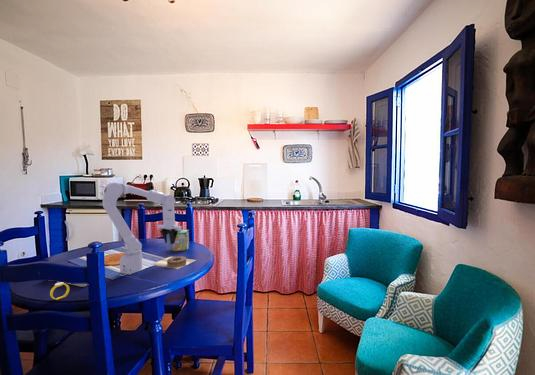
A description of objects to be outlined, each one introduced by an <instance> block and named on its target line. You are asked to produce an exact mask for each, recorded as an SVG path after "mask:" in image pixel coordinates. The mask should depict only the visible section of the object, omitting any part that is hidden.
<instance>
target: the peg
mask: <svg viewBox="0 0 535 375" xmlns="http://www.w3.org/2000/svg"><path fill="white" fill-rule="evenodd" d="M166 236H167V243H166V250H167V251H172V250H173V249H174V246H173V244H171V242H170V236H169V234H166Z"/></svg>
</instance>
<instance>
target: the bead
mask: <svg viewBox="0 0 535 375" xmlns="http://www.w3.org/2000/svg"><path fill="white" fill-rule="evenodd" d="M186 259H187V257H186V256H182V255H181V256H172V258H170V259H168V260H167V266H168V267H180V266H183V265H185V264H186ZM185 266H186V265H185ZM183 267H184V266H183Z"/></svg>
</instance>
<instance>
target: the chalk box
mask: <svg viewBox="0 0 535 375" xmlns="http://www.w3.org/2000/svg"><path fill="white" fill-rule="evenodd" d="M180 226H181V230H180V231H179V232H178V233H177V236H176V239H175V243H174V244H173V246H174V249H173V250H171V251H172V252H177V251H180V252H181V251H187V250H189V247H190V241H189V240H190V234H189V233H190V232H189V231H190V229H182V228H183V225H180Z"/></svg>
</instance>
